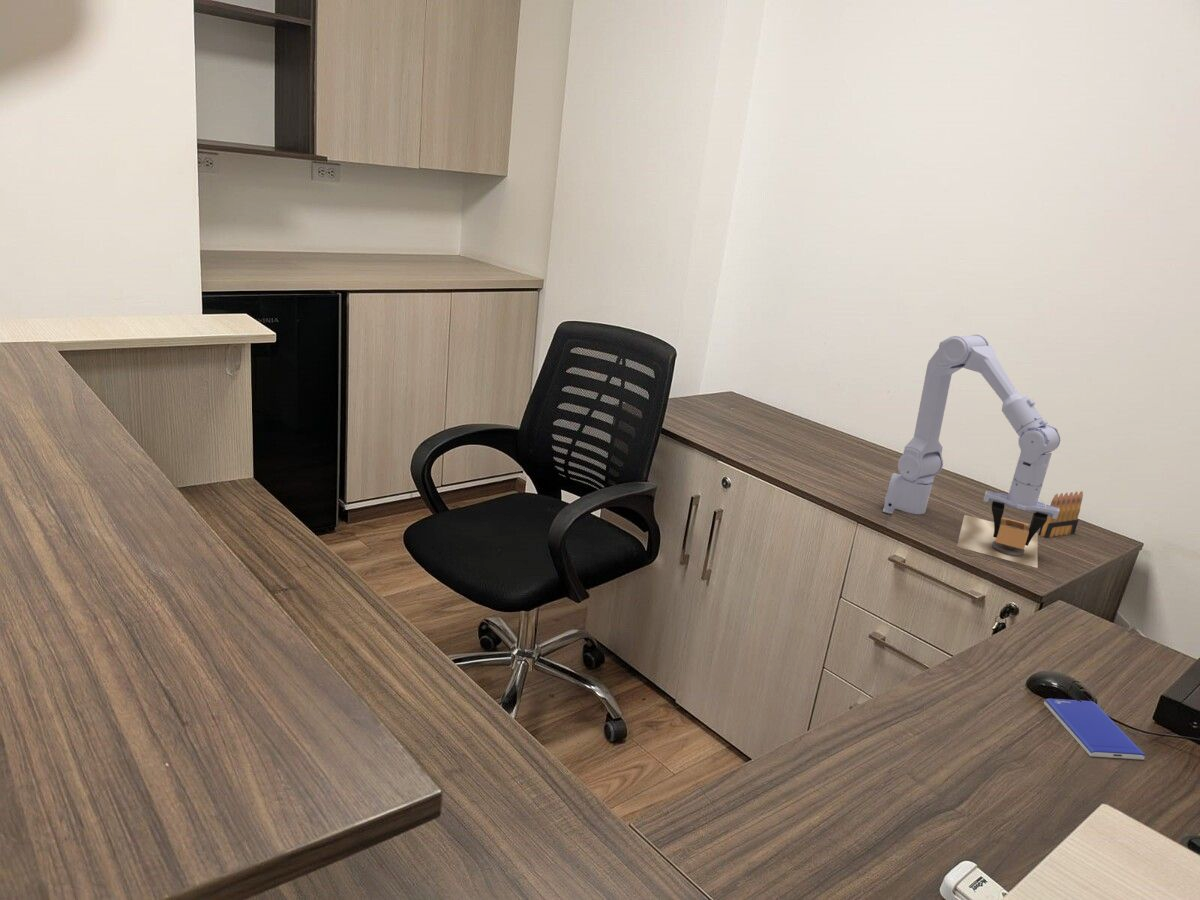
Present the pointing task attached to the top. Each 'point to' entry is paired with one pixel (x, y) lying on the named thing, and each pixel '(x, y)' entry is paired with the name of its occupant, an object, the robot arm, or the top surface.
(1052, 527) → the ammunition clip
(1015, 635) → the top surface
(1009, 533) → the collar
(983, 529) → the post board
